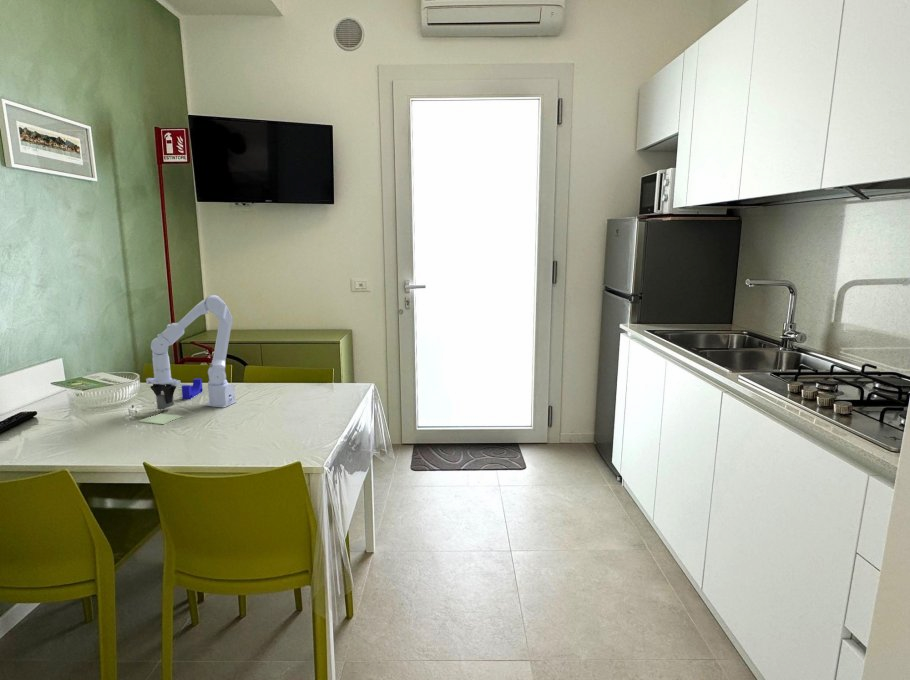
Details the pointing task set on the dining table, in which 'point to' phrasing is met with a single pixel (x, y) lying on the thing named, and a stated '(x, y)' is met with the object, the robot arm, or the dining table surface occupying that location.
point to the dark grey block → (163, 401)
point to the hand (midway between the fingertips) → (165, 402)
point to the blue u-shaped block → (192, 389)
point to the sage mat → (160, 419)
